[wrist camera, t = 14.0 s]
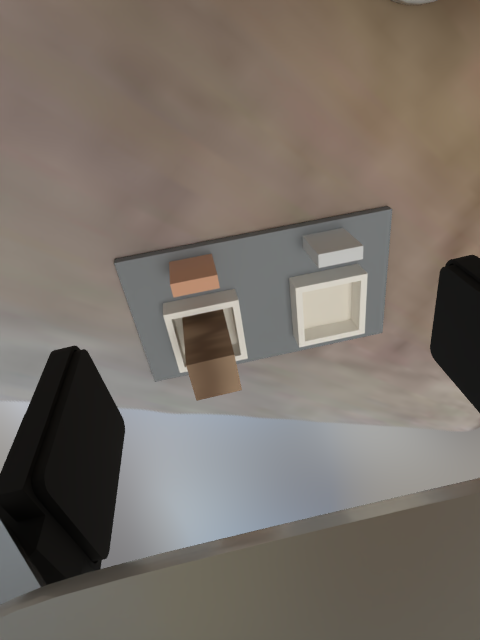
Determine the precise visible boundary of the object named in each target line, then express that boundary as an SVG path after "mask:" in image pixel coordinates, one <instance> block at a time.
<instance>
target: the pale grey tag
mask: <svg viewBox="0 0 480 640" xmlns="http://www.w3.org/2000/svg"><path fill="white" fill-rule="evenodd" d="M302 237H303V249H304V250H305V251H306V253H307V254H308V255H309V256H310V258H311V259H312V260H313V261H314V263H315V264H316V265H317V267H318V268H322V267H327V266H332V265H337V264H342V263H347V262H351V261H356V260H361V259H363V245H362V244H361V243H360V242H359V241H358V240H357V239H355V238H354V237H353V236H352V235H351V234H350V233H349V232H347V231H346V230H345V229H344V228H339V229H334V230H329V231H324V232H319V233H314V234H309V235H304V236H302Z"/></svg>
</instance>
